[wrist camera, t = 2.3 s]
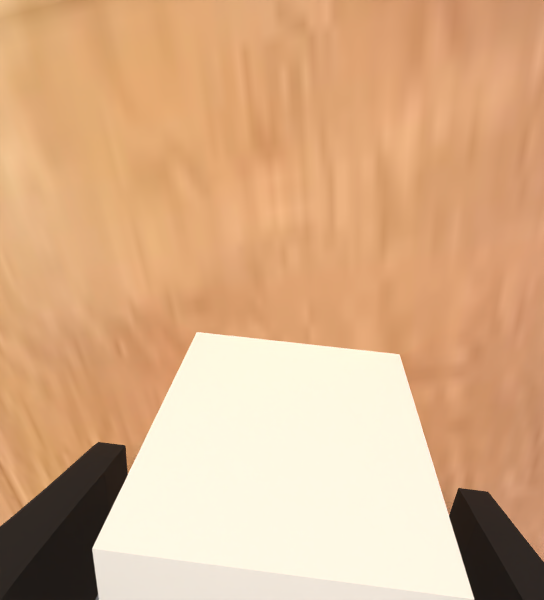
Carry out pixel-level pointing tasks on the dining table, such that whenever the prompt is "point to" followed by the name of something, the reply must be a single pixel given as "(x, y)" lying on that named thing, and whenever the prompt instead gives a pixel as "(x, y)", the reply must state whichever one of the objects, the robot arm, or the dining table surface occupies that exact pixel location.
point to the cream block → (282, 484)
